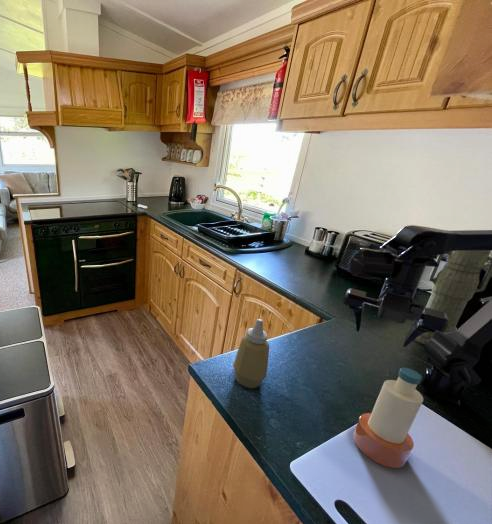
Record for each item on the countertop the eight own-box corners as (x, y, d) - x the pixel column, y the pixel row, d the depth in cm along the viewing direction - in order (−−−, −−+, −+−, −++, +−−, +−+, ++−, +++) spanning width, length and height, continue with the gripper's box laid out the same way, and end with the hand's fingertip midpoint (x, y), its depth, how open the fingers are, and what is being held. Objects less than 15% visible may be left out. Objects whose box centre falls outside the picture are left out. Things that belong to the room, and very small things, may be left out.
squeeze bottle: (238, 365, 80) (249, 307, 74) (268, 379, 75) (282, 319, 69) (226, 381, 74) (236, 320, 68) (257, 397, 69) (272, 333, 63)
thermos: (458, 355, 88) (513, 245, 76) (408, 341, 94) (451, 237, 82) (450, 341, 95) (500, 239, 83) (404, 329, 101) (444, 232, 89)
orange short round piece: (405, 446, 59) (413, 429, 57) (405, 477, 52) (414, 460, 51) (355, 421, 64) (361, 406, 62) (350, 448, 58) (357, 431, 56)
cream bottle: (381, 416, 60) (405, 360, 55) (411, 440, 55) (440, 381, 50) (360, 421, 58) (383, 365, 54) (389, 446, 53) (417, 387, 48)
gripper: (349, 279, 66) (331, 336, 72) (465, 306, 55) (433, 372, 60) (354, 267, 74) (338, 319, 80) (457, 289, 63) (430, 348, 68)
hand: (380, 338), depth 72 cm, fingers open, 9 cm apart
